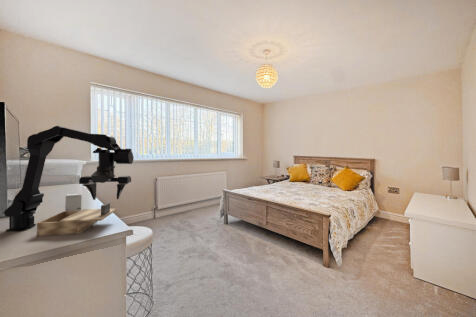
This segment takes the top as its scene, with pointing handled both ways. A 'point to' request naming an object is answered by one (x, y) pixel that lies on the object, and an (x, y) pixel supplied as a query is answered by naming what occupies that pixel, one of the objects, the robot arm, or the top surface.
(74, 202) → the skincare box
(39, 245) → the top surface
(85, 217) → the lid
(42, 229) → the brown piece
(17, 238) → the top surface
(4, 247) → the top surface
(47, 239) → the top surface
